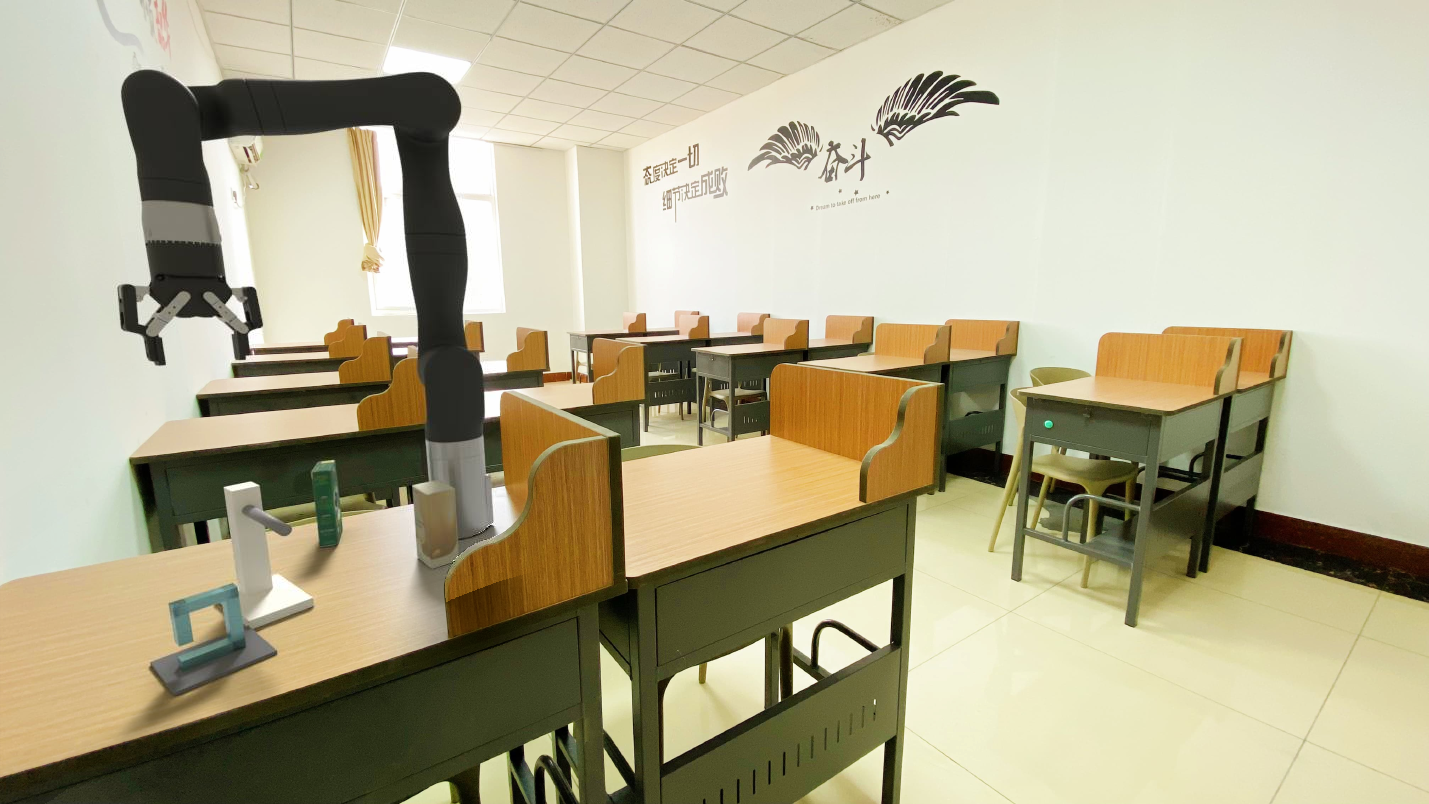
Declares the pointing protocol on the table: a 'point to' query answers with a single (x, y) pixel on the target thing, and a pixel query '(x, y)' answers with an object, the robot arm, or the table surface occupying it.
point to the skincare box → (435, 523)
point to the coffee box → (327, 503)
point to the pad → (211, 663)
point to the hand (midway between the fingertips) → (202, 362)
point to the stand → (258, 559)
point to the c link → (232, 622)
